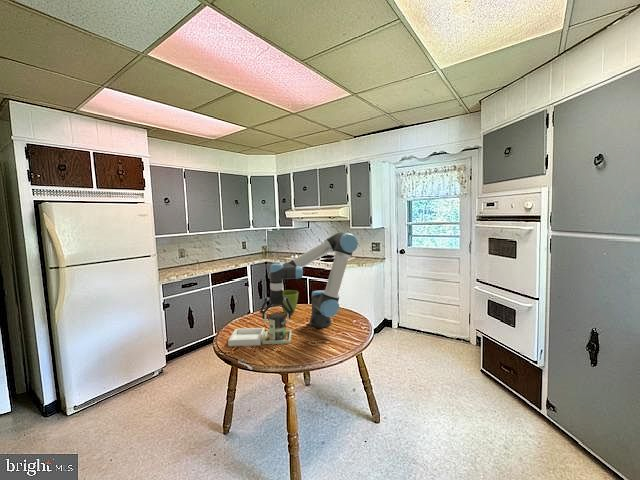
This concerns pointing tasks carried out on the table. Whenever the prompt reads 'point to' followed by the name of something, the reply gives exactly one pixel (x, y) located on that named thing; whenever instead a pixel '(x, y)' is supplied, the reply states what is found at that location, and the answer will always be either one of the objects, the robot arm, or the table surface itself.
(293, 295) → the flower pot
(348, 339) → the table surface
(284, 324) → the coffee can
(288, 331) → the frame
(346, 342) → the table surface
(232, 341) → the bin
